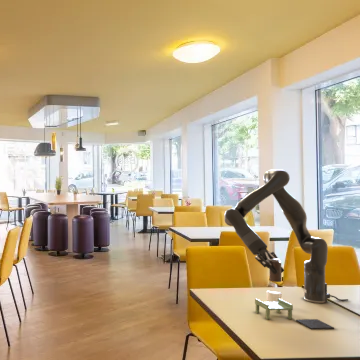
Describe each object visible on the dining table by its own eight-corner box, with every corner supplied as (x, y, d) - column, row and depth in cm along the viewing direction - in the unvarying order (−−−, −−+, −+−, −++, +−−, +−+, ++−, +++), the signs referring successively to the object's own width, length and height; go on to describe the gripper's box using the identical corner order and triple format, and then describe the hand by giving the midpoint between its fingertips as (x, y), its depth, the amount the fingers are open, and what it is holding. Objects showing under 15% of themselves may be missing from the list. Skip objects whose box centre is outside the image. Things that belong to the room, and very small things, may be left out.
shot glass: (283, 308, 191) (283, 294, 191) (268, 307, 192) (268, 293, 192) (279, 304, 197) (279, 290, 197) (264, 303, 199) (264, 289, 199)
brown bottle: (277, 279, 182) (277, 258, 182) (283, 281, 177) (283, 260, 178) (267, 279, 182) (267, 258, 182) (273, 282, 177) (273, 260, 177)
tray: (279, 311, 185) (279, 298, 185) (292, 319, 175) (292, 304, 176) (254, 312, 185) (254, 298, 185) (267, 319, 175) (267, 305, 175)
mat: (317, 320, 174) (317, 319, 174) (334, 329, 164) (334, 327, 164) (295, 320, 173) (295, 319, 173) (311, 329, 163) (311, 327, 163)
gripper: (251, 239, 182) (277, 270, 172) (267, 237, 190) (293, 266, 180) (240, 249, 186) (265, 279, 176) (256, 246, 194) (281, 275, 184)
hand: (279, 272), depth 178 cm, fingers closed on brown bottle, 5 cm apart
